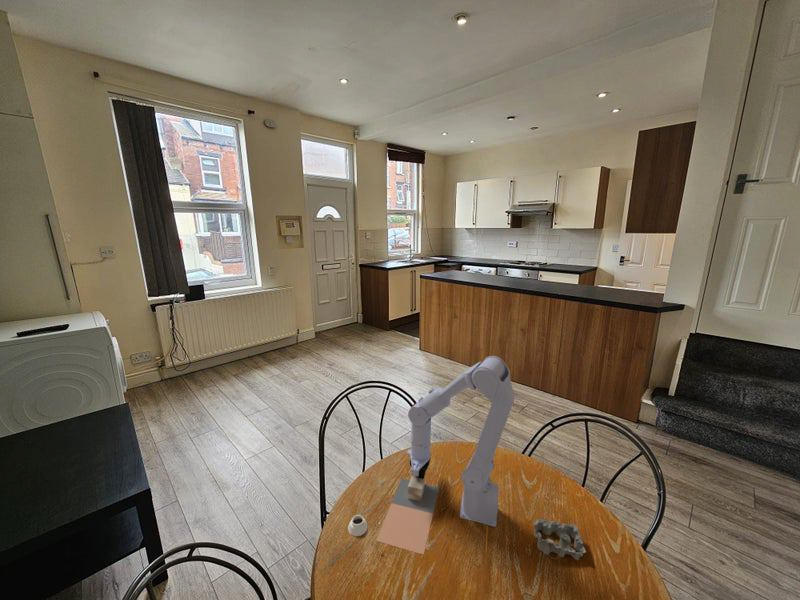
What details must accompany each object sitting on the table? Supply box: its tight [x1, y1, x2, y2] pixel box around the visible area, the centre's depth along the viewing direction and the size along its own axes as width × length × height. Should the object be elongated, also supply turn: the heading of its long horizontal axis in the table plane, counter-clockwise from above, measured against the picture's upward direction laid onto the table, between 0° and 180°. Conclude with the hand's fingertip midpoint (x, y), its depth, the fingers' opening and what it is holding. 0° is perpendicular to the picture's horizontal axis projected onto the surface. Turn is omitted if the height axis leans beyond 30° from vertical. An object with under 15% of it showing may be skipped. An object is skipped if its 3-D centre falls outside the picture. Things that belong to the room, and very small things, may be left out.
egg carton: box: [533, 518, 587, 561], centre depth 79 cm, size 11×8×4 cm
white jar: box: [347, 514, 369, 537], centre depth 83 cm, size 5×3×5 cm
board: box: [375, 477, 440, 555], centre depth 88 cm, size 12×22×1 cm, turn 163°
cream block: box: [408, 475, 426, 501], centre depth 93 cm, size 4×4×4 cm
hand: (419, 480), depth 98 cm, fingers closed
